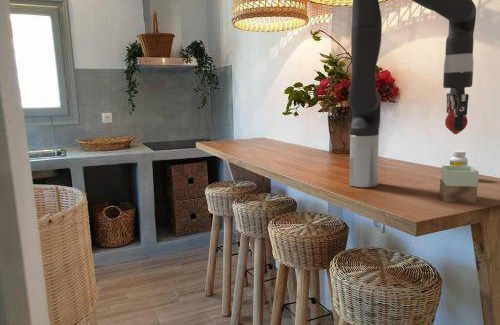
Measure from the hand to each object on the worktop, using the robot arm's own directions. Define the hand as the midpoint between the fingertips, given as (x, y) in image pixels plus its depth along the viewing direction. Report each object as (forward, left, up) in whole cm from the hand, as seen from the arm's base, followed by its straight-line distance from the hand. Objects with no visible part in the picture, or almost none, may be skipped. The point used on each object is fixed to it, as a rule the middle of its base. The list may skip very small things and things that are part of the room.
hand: (455, 128), depth 117 cm
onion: (0, 0, -2) cm, 2 cm away
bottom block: (0, -5, -20) cm, 21 cm away
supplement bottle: (+6, +21, -20) cm, 29 cm away
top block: (0, -5, -15) cm, 16 cm away
